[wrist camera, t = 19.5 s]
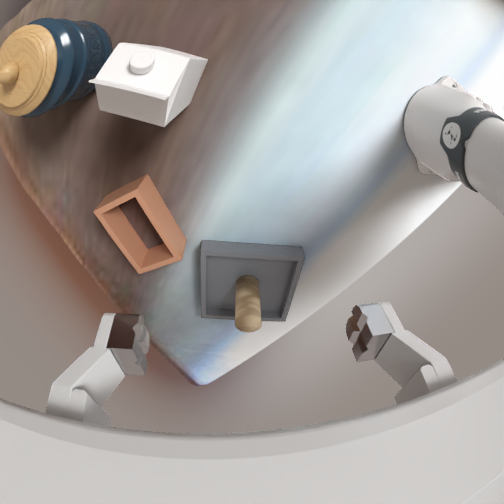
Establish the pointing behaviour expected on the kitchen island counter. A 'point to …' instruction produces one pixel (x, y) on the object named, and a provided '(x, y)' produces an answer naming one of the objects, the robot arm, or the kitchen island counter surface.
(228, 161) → the kitchen island counter surface
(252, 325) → the birch peg
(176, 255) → the terracotta planter box
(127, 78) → the milk carton
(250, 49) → the kitchen island counter surface
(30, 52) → the canister
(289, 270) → the charcoal tray
